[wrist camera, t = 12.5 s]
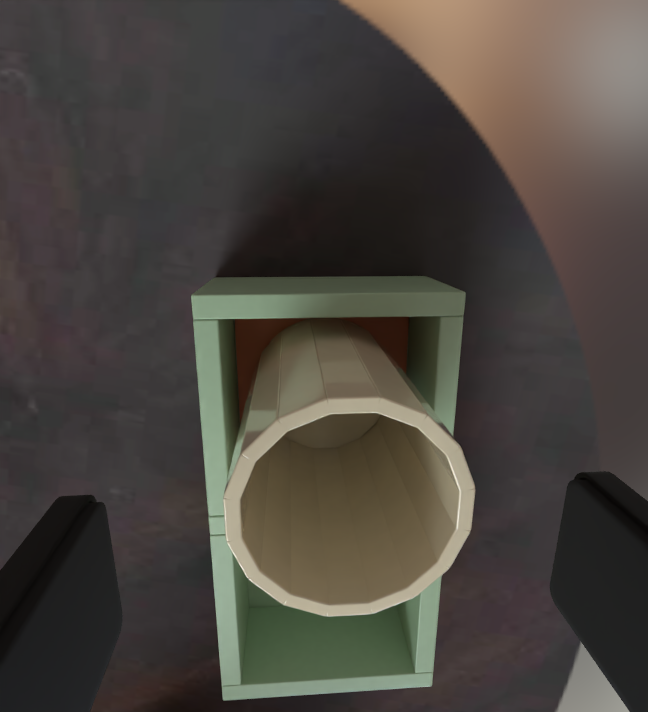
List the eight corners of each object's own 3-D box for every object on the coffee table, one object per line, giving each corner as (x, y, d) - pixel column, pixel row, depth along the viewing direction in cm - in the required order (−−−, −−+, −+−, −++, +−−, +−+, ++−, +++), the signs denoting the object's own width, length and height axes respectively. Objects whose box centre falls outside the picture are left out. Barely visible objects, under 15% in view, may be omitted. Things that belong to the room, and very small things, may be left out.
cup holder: (213, 277, 19) (190, 294, 15) (426, 275, 20) (466, 291, 15) (235, 611, 24) (222, 701, 19) (406, 602, 24) (432, 687, 20)
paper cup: (249, 317, 19) (215, 400, 10) (397, 315, 19) (486, 394, 11) (255, 452, 20) (230, 623, 12) (391, 448, 21) (463, 609, 12)
